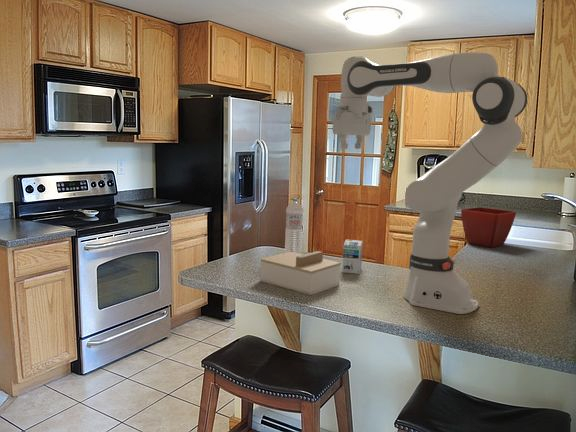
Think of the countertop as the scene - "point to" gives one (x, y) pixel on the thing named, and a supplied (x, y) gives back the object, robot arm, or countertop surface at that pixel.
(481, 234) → the plant pot
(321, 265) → the tan box lid
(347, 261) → the light bulb box
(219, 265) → the countertop surface
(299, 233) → the water bottle
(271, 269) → the base
